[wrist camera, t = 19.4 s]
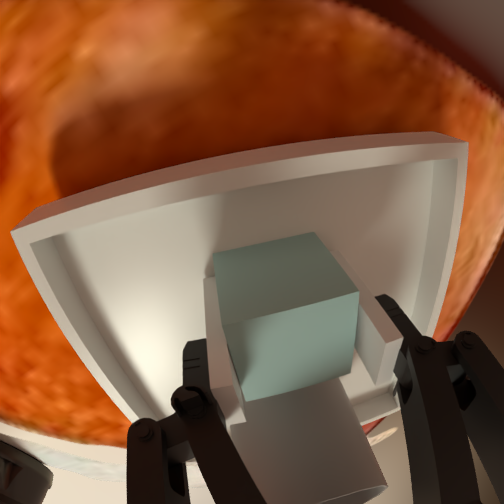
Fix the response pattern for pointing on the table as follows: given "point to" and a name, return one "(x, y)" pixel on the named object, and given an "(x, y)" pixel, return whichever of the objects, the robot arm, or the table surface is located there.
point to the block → (286, 314)
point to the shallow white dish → (240, 235)
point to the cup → (308, 448)
